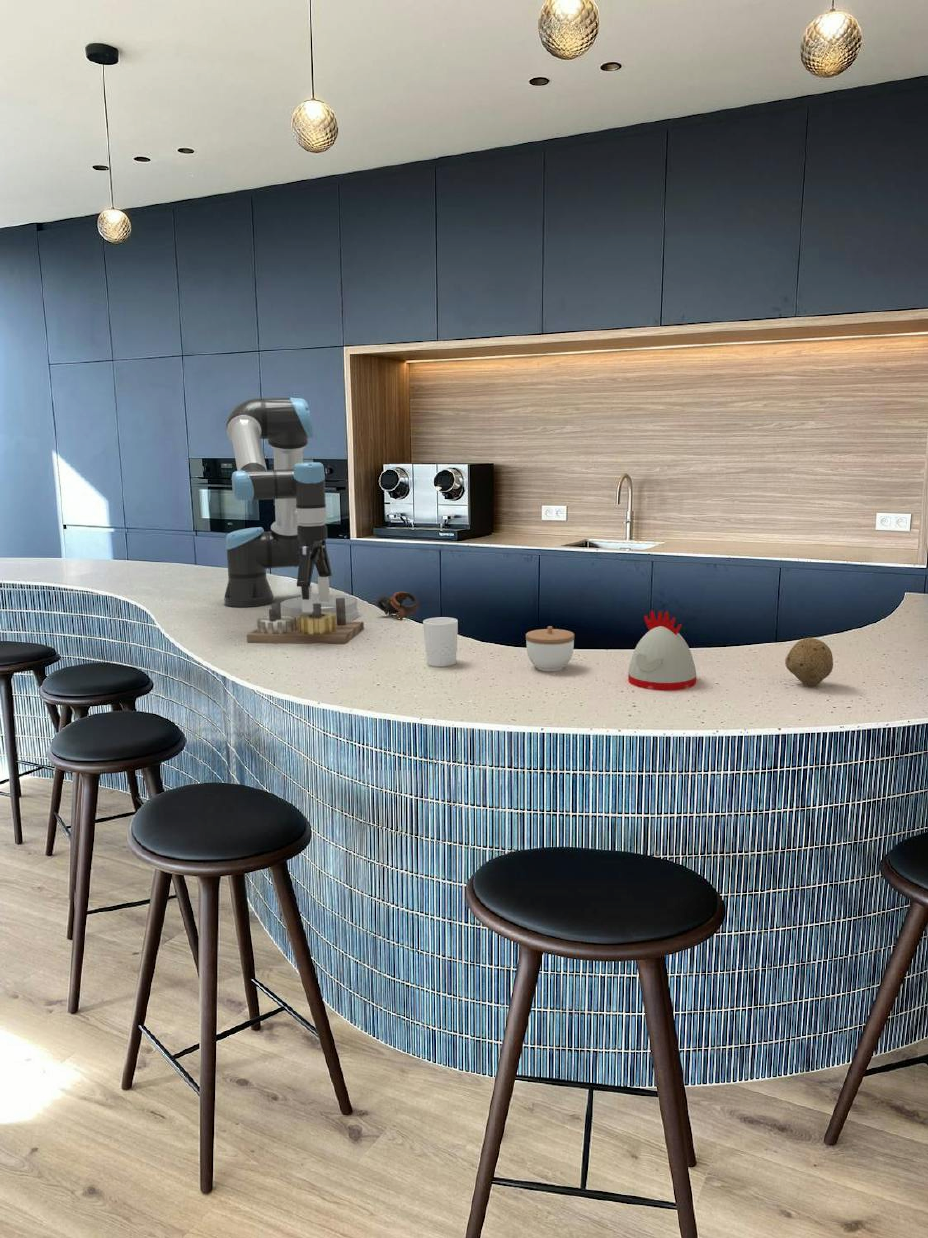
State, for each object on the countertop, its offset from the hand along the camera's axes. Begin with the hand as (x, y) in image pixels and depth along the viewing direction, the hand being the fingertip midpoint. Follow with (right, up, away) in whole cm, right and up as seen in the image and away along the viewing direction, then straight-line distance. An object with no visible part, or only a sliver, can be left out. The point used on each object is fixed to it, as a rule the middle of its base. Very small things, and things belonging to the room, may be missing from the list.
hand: (316, 606), depth 238 cm
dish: (-3, -3, +28) cm, 28 cm away
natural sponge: (+108, -17, -51) cm, 121 cm away
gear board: (-3, -8, +5) cm, 10 cm away
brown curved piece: (+19, -3, +27) cm, 33 cm away
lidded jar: (+57, -14, -33) cm, 68 cm away
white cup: (+33, -14, -27) cm, 45 cm away
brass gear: (0, -6, +1) cm, 6 cm away
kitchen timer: (+80, -17, -45) cm, 93 cm away
